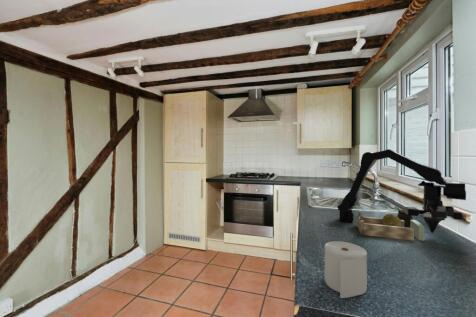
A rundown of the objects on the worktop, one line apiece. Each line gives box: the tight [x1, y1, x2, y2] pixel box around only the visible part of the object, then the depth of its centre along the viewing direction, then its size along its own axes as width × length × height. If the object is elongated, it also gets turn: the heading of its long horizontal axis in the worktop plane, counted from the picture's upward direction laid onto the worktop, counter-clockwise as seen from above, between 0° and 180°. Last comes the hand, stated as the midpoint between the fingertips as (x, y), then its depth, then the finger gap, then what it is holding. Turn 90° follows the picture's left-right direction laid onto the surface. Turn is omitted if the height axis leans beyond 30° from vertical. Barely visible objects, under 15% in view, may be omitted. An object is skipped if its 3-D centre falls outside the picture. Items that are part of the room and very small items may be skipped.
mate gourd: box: [395, 206, 414, 228], centre depth 111 cm, size 7×8×10 cm
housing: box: [356, 211, 415, 241], centre depth 103 cm, size 20×13×8 cm
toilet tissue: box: [323, 240, 368, 299], centre depth 61 cm, size 11×12×10 cm
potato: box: [382, 213, 403, 227], centre depth 102 cm, size 8×13×8 cm, turn 140°
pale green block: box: [410, 219, 426, 242], centre depth 98 cm, size 2×10×6 cm, turn 158°
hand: (431, 232), depth 96 cm, fingers closed
